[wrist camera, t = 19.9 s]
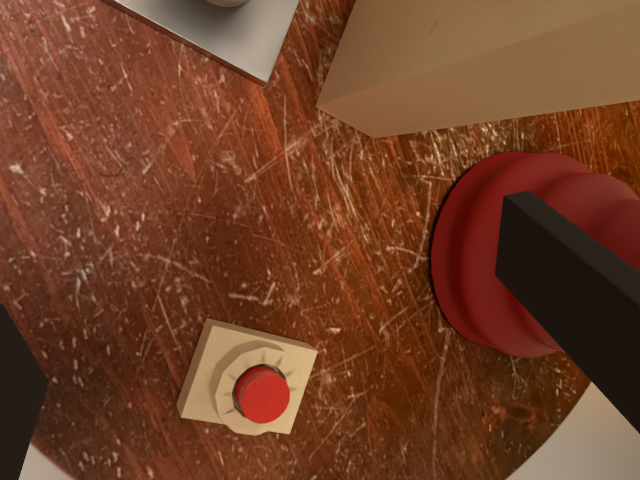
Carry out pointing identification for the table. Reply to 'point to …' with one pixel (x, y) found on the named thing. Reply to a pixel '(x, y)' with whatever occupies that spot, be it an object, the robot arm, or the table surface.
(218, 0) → the coffee cup
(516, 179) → the table lamp
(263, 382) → the red push button
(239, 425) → the control block
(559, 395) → the table surface
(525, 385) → the table surface
